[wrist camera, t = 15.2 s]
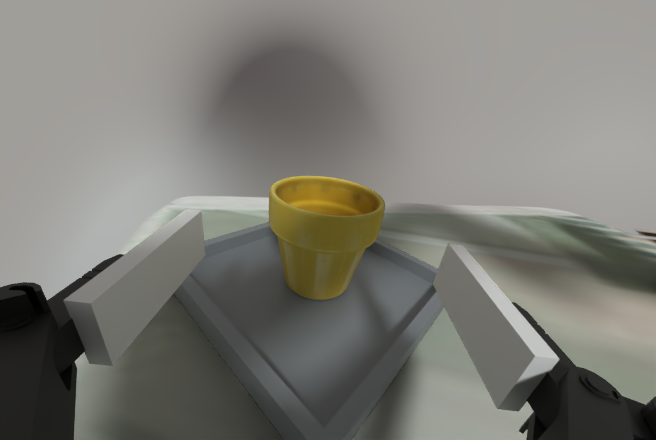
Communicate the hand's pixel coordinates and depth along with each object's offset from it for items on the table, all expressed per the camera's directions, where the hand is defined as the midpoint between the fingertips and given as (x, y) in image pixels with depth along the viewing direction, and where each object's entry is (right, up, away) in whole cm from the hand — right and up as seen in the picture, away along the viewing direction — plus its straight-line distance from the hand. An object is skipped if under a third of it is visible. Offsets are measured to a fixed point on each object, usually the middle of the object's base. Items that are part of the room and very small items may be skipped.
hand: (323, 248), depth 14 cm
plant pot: (-1, -5, +13) cm, 14 cm away
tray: (-1, -6, +14) cm, 15 cm away
